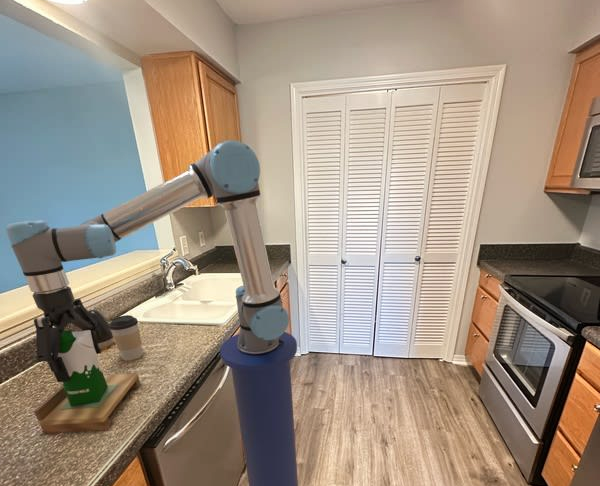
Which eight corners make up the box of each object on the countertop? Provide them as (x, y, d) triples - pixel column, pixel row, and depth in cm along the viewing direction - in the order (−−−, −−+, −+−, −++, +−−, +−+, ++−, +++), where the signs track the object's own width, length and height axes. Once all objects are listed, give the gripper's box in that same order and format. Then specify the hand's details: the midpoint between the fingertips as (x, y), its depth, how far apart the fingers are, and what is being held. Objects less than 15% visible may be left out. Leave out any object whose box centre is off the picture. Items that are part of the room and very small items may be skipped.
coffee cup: (121, 352, 120) (110, 315, 114) (147, 347, 123) (137, 311, 117) (116, 364, 112) (104, 324, 107) (144, 359, 115) (134, 320, 109)
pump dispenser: (92, 342, 129) (80, 307, 123) (120, 338, 131) (109, 303, 125) (82, 354, 120) (69, 317, 114) (112, 350, 122) (101, 313, 116)
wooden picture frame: (140, 384, 100) (135, 364, 98) (106, 429, 82) (98, 407, 79) (89, 386, 100) (82, 367, 97) (43, 433, 82) (33, 411, 79)
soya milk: (65, 409, 84) (36, 340, 76) (79, 389, 92) (54, 325, 84) (102, 403, 85) (77, 335, 77) (112, 384, 93) (91, 321, 85)
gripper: (68, 275, 88) (93, 344, 96) (-10, 309, 65) (31, 396, 73) (96, 273, 88) (118, 343, 96) (27, 307, 65) (64, 394, 73)
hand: (81, 366), depth 85 cm, fingers open, 13 cm apart
